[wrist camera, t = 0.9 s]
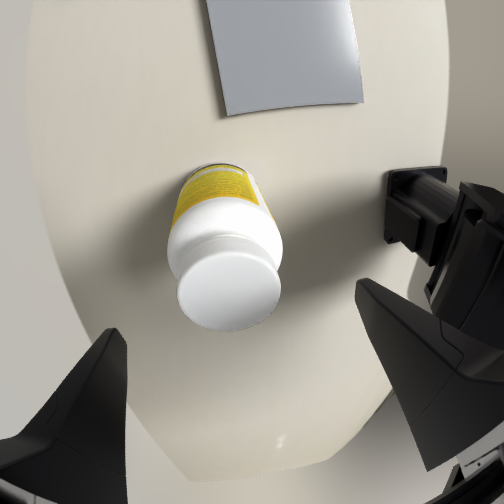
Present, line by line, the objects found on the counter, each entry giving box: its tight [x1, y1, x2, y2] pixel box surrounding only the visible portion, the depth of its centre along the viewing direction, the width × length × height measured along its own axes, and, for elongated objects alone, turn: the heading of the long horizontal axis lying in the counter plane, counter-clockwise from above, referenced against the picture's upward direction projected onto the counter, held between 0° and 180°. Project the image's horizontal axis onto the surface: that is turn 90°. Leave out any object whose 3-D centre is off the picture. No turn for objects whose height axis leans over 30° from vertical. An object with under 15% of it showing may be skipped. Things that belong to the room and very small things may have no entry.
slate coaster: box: [206, 0, 364, 116], centre depth 13 cm, size 9×9×1 cm
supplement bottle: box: [167, 162, 283, 331], centre depth 14 cm, size 5×5×10 cm
